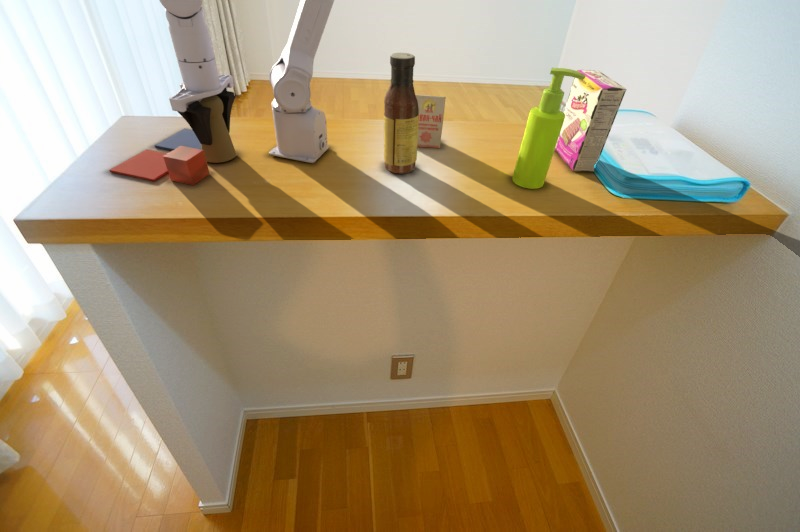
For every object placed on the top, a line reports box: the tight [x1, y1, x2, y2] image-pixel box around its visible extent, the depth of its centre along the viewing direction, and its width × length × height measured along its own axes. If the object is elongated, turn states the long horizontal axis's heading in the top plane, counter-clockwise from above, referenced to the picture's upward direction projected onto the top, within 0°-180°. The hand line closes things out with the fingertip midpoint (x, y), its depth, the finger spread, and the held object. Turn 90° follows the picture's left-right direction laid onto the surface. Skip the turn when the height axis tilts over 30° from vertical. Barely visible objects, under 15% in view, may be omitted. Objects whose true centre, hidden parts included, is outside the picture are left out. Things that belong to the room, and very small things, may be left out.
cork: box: [199, 95, 237, 164], centre depth 75 cm, size 6×6×11 cm
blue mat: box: [153, 128, 201, 151], centre depth 83 cm, size 9×9×1 cm
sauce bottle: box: [383, 52, 419, 175], centre depth 73 cm, size 6×6×20 cm
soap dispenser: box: [511, 67, 585, 190], centre depth 72 cm, size 6×7×20 cm
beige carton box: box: [415, 94, 447, 149], centre depth 86 cm, size 4×7×10 cm, turn 87°
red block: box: [163, 146, 210, 186], centre depth 71 cm, size 4×4×4 cm
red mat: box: [108, 149, 169, 182], centre depth 74 cm, size 9×9×1 cm
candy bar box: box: [554, 69, 627, 173], centre depth 82 cm, size 11×5×16 cm, turn 6°
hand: (215, 138), depth 76 cm, fingers closed on cork, 5 cm apart
